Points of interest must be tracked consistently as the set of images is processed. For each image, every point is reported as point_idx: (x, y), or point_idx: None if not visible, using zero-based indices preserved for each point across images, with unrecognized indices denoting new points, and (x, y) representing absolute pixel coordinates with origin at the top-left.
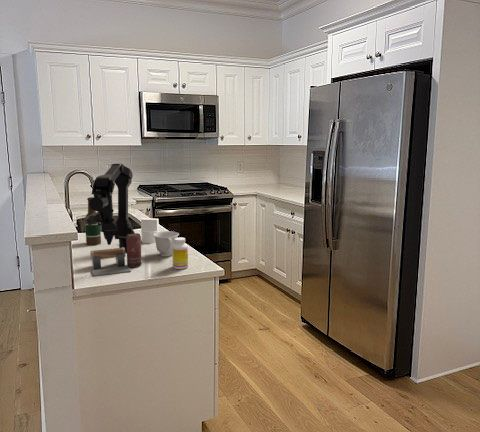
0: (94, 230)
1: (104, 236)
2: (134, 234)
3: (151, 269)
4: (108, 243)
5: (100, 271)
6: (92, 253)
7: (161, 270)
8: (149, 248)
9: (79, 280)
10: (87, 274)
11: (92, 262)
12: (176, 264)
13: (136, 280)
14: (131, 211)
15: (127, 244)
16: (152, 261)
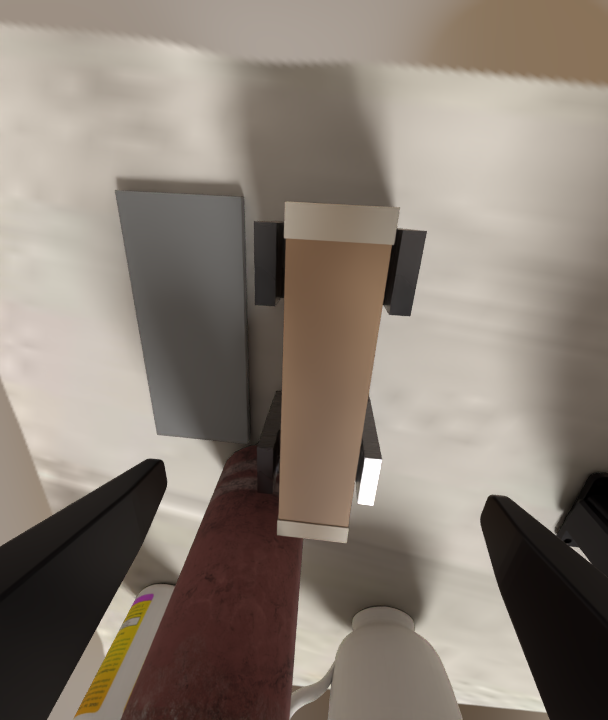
0: None
1: (519, 536)
2: None
3: (176, 516)
4: (132, 480)
5: (189, 262)
6: (284, 223)
7: (149, 541)
8: None
9: (45, 51)
10: (185, 149)
11: None
12: (131, 610)
13: (18, 419)
14: None
15: (198, 601)
16: (303, 553)
